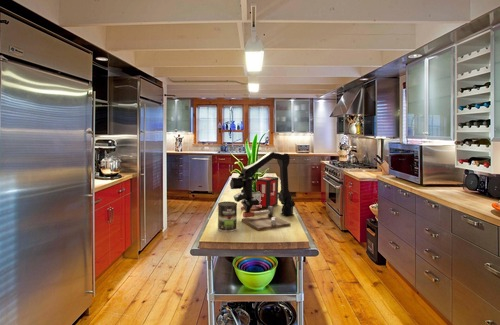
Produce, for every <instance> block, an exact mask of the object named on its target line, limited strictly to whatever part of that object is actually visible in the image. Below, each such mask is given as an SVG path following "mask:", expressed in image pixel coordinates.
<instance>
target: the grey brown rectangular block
mask: <svg viewBox="0 0 500 325" xmlns="http://www.w3.org/2000/svg"><path fill="white" fill-rule="evenodd" d="M271 225H274V226H275V217H272V219H271Z"/></svg>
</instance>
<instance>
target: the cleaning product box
mask: <svg viewBox="0 0 500 325" xmlns="http://www.w3.org/2000/svg"><path fill="white" fill-rule="evenodd" d="M256 179H257V182H256V181H255V190H256V189H257V191H260V192H261V194H262V195H261V200H262V201H261V205H262V209H263V210H268V206H273V208H274V207H276V206H278V205H279V199H278V192H279V177H278V176H277V177H276V176H275V177H274V176H264V177H259V178H256ZM262 209H261V210H262Z"/></svg>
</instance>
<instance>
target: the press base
mask: <svg viewBox="0 0 500 325" xmlns="http://www.w3.org/2000/svg"><path fill="white" fill-rule="evenodd" d="M273 217H275V226H274V225H271V219H272V217H268V214H265V215H257V216H254V217H246V218H245V217H243V218H241V222H242V223H244V224H246V225H248V226H249V227H250V228H253V229H254V230H256V231H258V232H259V231H264V230H265V231H266V230H272V229H279V228H285V227H291V224H292V223H290V222H289V221H287V220H285V219H282V218H280V217H278V216H276V215H274V214H273Z"/></svg>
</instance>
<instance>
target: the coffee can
mask: <svg viewBox="0 0 500 325" xmlns="http://www.w3.org/2000/svg"><path fill="white" fill-rule="evenodd" d="M217 206H218V208H217V210H218V211H217V215H218V216H217V230H218V231H220V232H224V233H229V232H234V231H236V230H237V220H238V219H237V218H238V217H237V216H238V215H237V214H238V212H237V211H238V208H237V207H238V202H236V201H221V202H217Z"/></svg>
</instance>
